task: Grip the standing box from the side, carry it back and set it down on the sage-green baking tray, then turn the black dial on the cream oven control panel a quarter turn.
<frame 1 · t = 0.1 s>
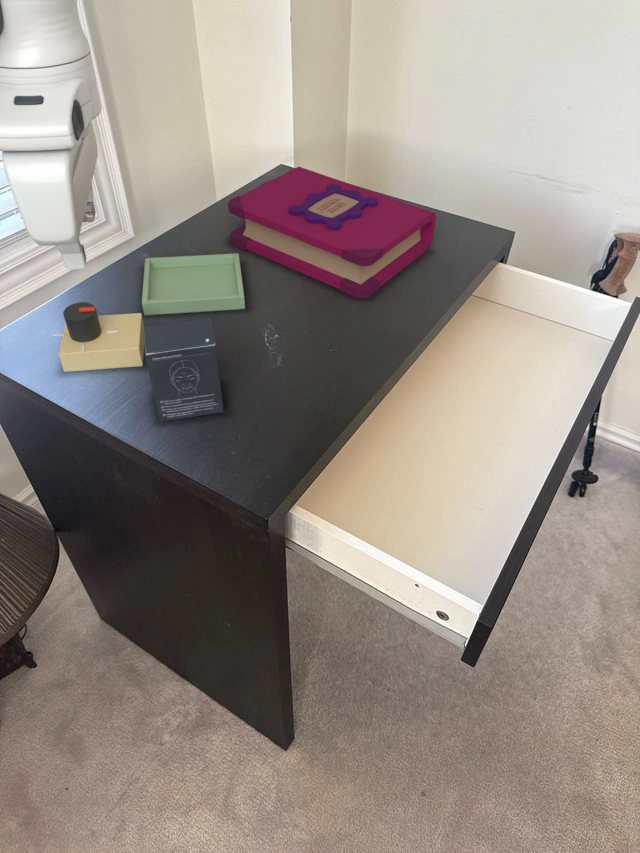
hand: (82, 241, 63), 22 cm above the table, tool pointing down, fingers open, 8 cm apart
tray: (194, 288, 97), on the table
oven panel: (106, 350, 85), on the table
box: (189, 404, 79), on the table
book: (329, 246, 108), on the table
dial: (82, 321, 82), point 5 cm above the table, hinge at 0.0°
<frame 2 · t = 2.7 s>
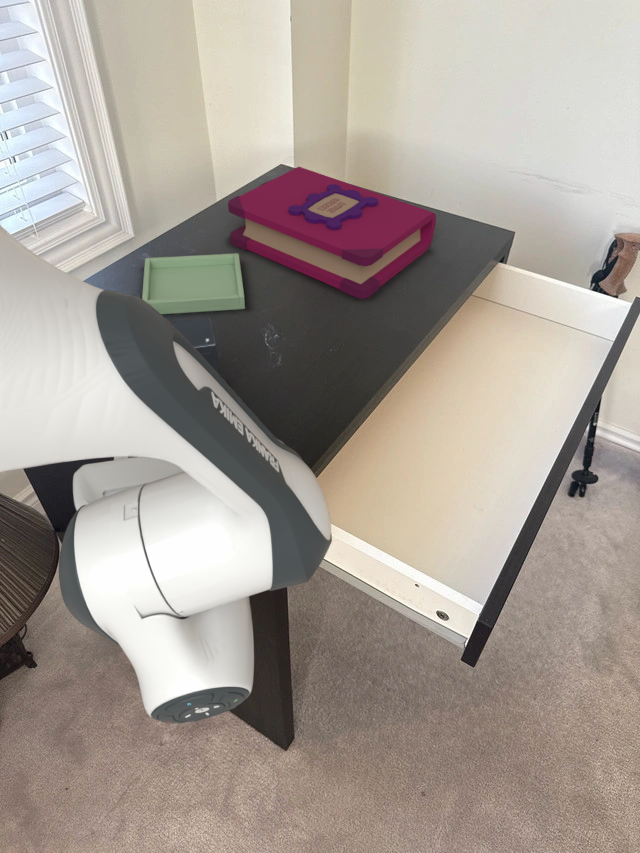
hand: (181, 430, 66), 7 cm above the table, tool horizontal, fingers open, 8 cm apart
nothing on the table moved.
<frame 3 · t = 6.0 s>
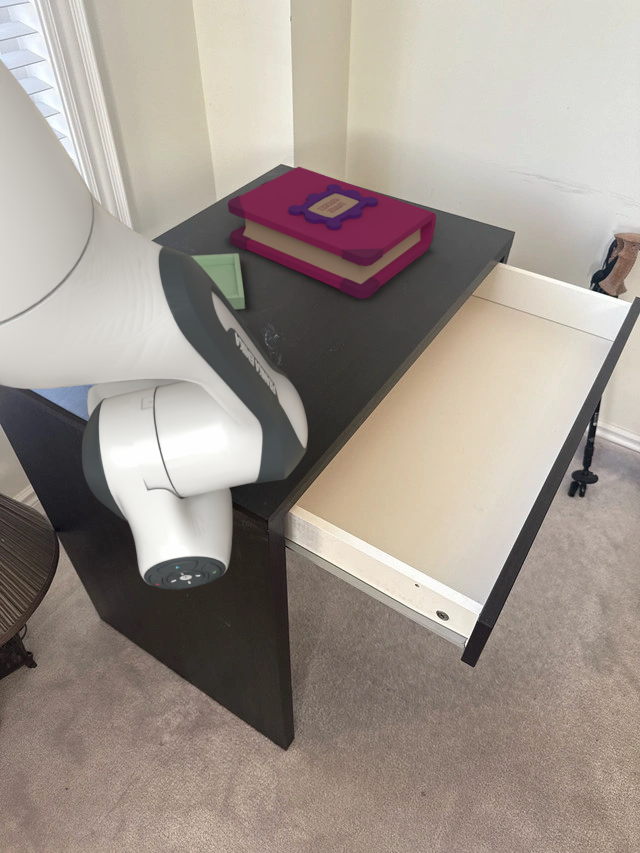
hand: (183, 361, 75), 6 cm above the table, tool horizontal, fingers closed on box, 8 cm apart
box: (190, 404, 79), on the table, touching gripper
everything else where it was.
when the fingers open (7 cm above the table, at t = 16.5 s): box stays where it is, resting on tray.
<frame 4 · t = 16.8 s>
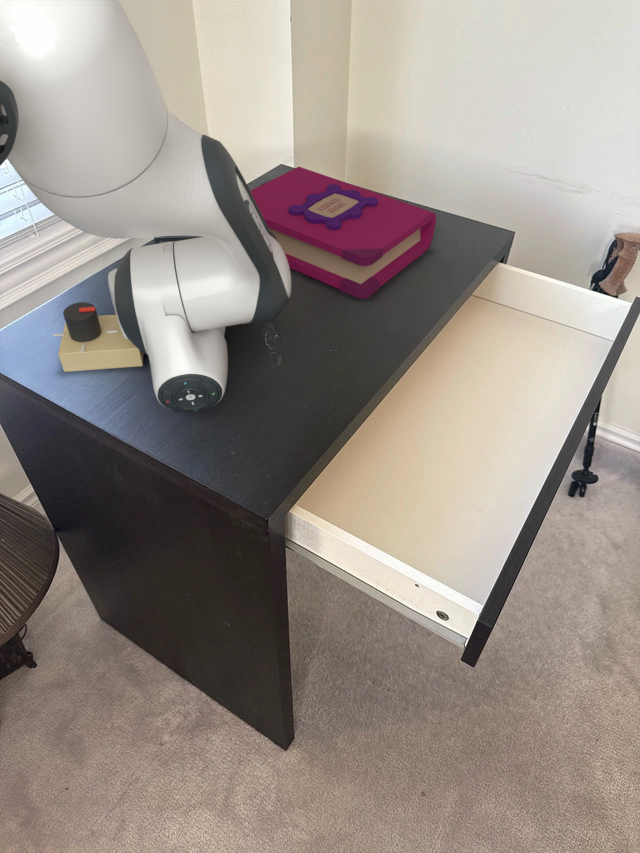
hand: (187, 257, 89), 7 cm above the table, tool horizontal, fingers open, 8 cm apart
box: (193, 292, 95), resting on tray, touching gripper
everything else where it was.
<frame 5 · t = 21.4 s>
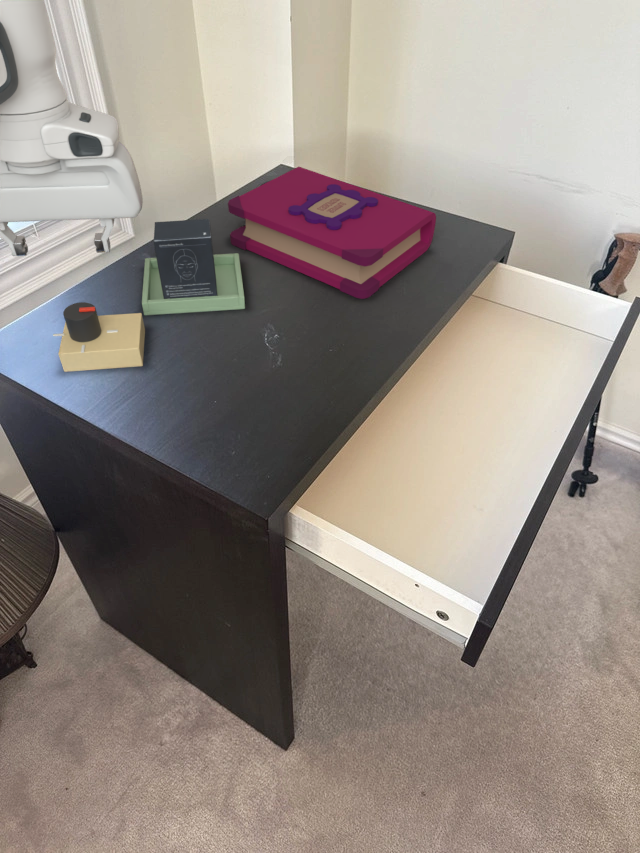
hand: (62, 251, 74), 15 cm above the table, tool pointing down, fingers open, 8 cm apart
box: (191, 295, 95), resting on tray
everything else where it was.
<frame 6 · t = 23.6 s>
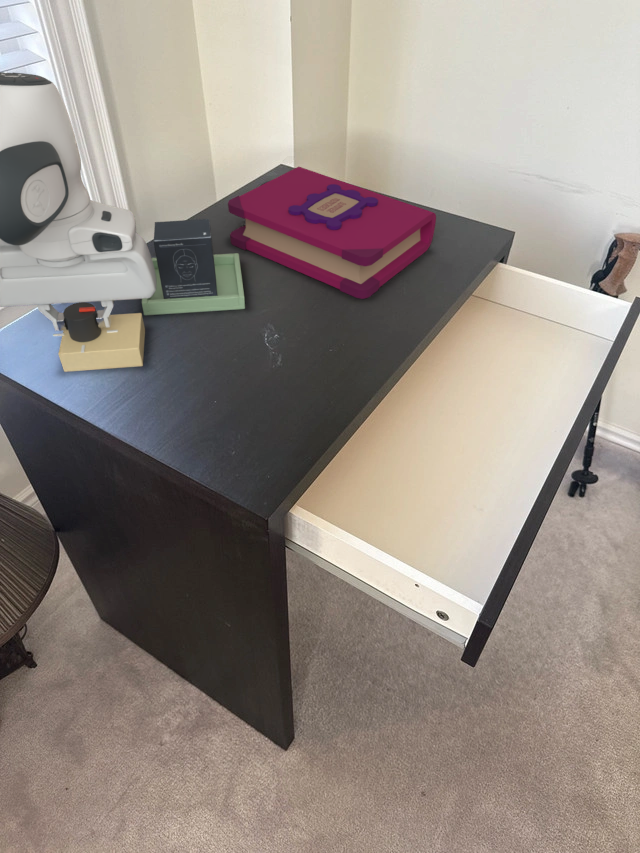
hand: (84, 326, 82), 4 cm above the table, tool pointing down, fingers closed on dial, 4 cm apart
dial: (82, 321, 82), point 5 cm above the table, hinge at 0.0°, touching gripper
everything else where it was.
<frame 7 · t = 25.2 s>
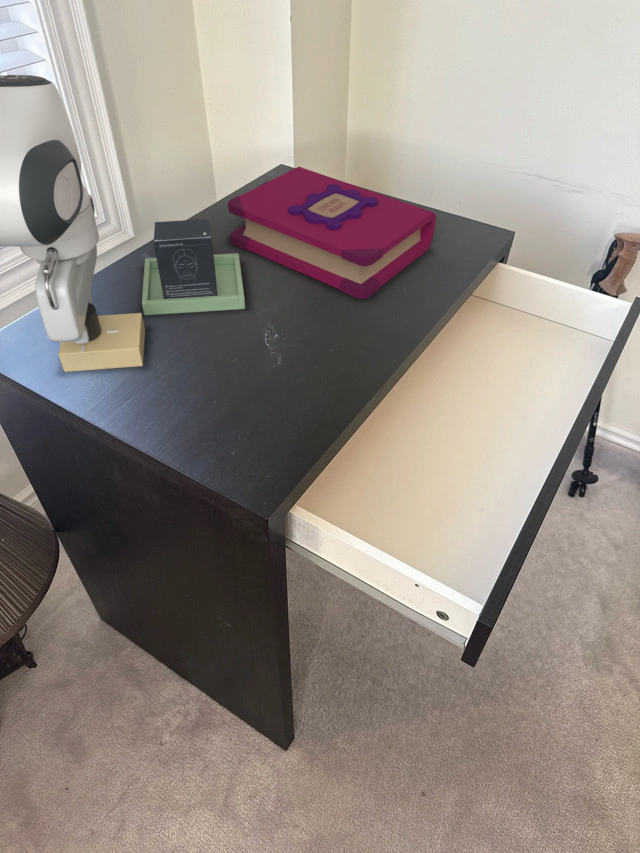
hand: (85, 327, 82), 4 cm above the table, tool pointing down, fingers closed on dial, 4 cm apart
dial: (82, 321, 82), point 5 cm above the table, hinge at 93.2°, touching gripper
everything else where it was.
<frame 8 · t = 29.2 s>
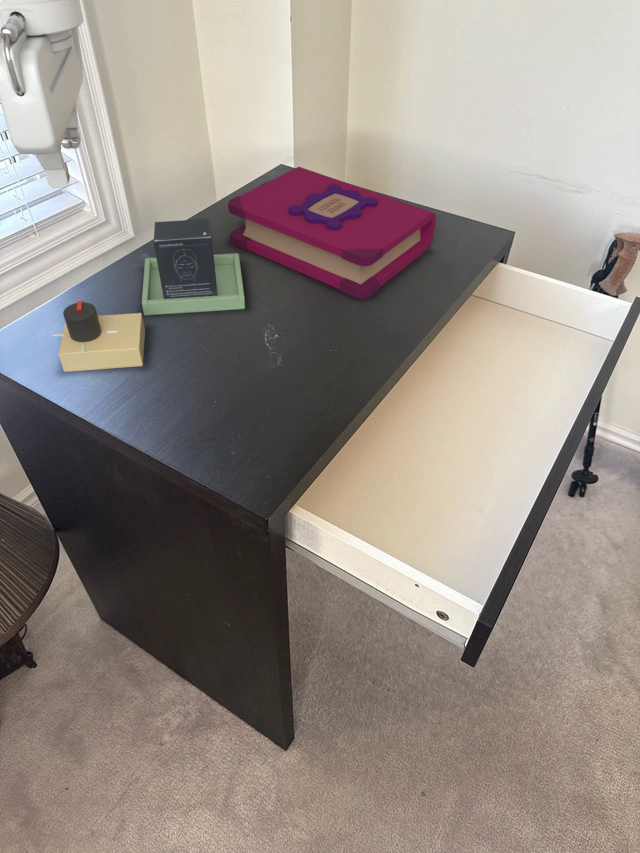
hand: (66, 164, 63), 27 cm above the table, tool pointing down, fingers open, 8 cm apart
dial: (82, 321, 82), point 5 cm above the table, hinge at 92.9°
everything else where it was.
at the end: box inside the target area in the tray (2.4 cm from its centre), point 0.4 cm above the tray's base; box tilted 0°; dial at +93° (first picture: +0°) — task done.
